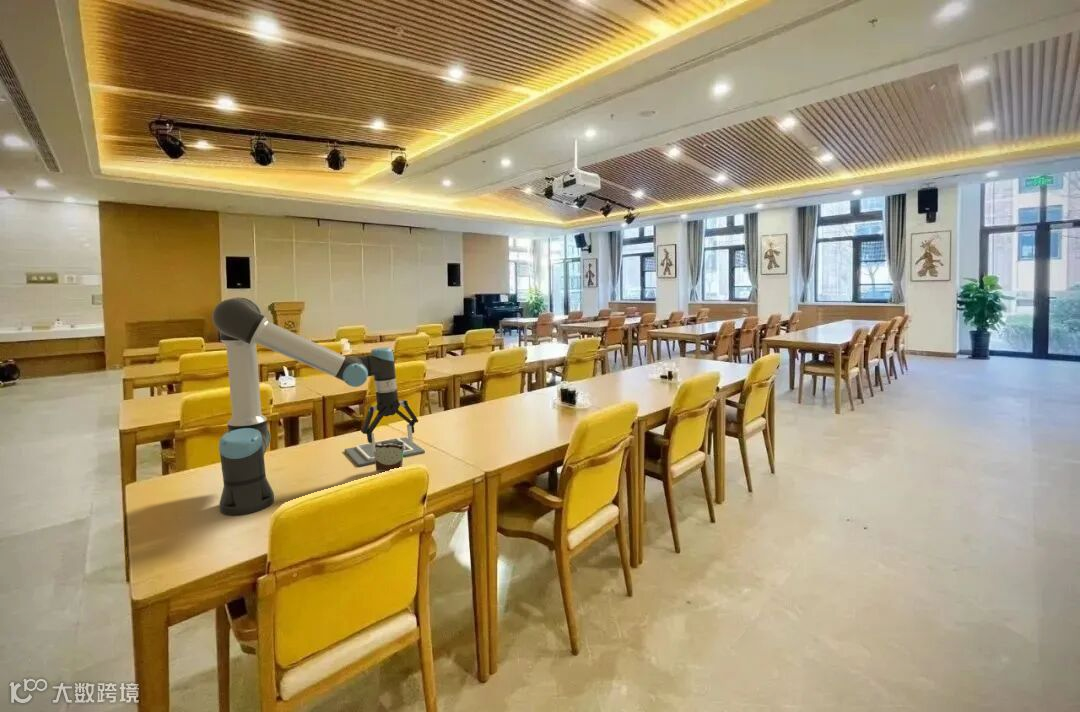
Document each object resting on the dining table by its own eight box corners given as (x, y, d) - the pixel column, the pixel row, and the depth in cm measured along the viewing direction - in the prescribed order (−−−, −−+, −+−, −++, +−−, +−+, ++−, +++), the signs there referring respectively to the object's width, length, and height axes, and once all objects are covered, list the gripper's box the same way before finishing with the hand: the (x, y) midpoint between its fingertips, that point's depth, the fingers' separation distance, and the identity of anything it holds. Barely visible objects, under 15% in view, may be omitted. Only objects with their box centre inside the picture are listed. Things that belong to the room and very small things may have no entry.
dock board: (359, 466, 198) (358, 461, 197) (344, 451, 216) (344, 446, 215) (424, 452, 212) (424, 448, 212) (406, 439, 230) (405, 435, 230)
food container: (411, 467, 196) (410, 441, 196) (404, 471, 190) (404, 444, 190) (379, 466, 198) (379, 440, 198) (372, 470, 192) (372, 443, 192)
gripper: (353, 398, 180) (360, 457, 183) (423, 386, 194) (428, 440, 197) (348, 395, 186) (354, 451, 190) (416, 383, 200) (421, 436, 203)
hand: (392, 446), depth 193 cm, fingers open, 13 cm apart
